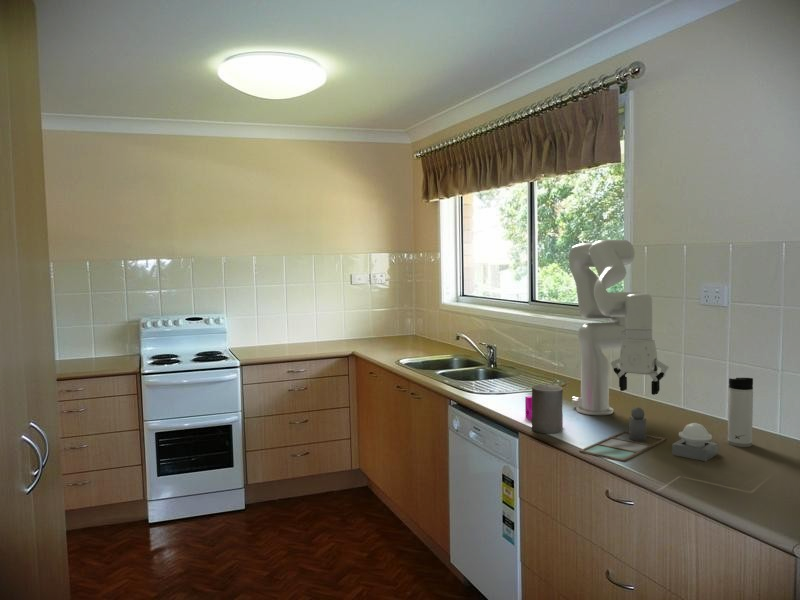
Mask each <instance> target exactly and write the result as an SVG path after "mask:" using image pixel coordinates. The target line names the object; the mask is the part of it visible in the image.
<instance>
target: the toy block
mask: <svg viewBox="0 0 800 600" xmlns="http://www.w3.org/2000/svg"><path fill="white" fill-rule="evenodd" d="M524 414H525V416H524V418H526V419H528V420H529V421H531V422H532V395H527V396H525V413H524ZM563 417H564V416H563V413H562V428H563V426H564V425H563V423H564V421H563Z"/></svg>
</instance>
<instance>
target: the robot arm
mask: <svg viewBox="0 0 800 600" xmlns="http://www.w3.org/2000/svg"><path fill="white" fill-rule="evenodd" d="M634 258H635V248H634V246H633V244H632V243H631V242H630V241H629V240H626V239H600V240H596V241H594V242H585V243H578V244H575V245H573V246H572V247H571V248H570V250H569V252H568V266H569V270H570V273H571V274H572V277H573V279H574V282H575V287H576V293H577V294H576V296H577V302H578V303H577V304H578V311H579V314H580V316H581V318H582V319H584V320H589V321H591V320H592V321H595V320H596V321H597V320H599V321H601V320H602V321H603V320H604V321H605V320H609V321H610V322H604V321H603V322H587V323H584V324H583V325H581V326H580V327H579V329H578V333H577V336H578V337H577V339H578V343H579V344H578V345H579V351H580V396H579V397H578V396H572V397H571V403H572V404H577V406H575V407H576V409H575V410H576V412H577V413H579V414H583V415H589V416H608V415H612V414H613V413H614V408H613V407H611V406H610V404H609V403H610V401H609V400H610V394H609V393H610V386H609V385H610V365H611V367H612V369H613V372H614V373H615V374H616V376H617V378H618V387H619V391H621V392H624V391H626V390H627V389H628V377H627V376H626V375H627V374H637V375H649V376H650V378H651V379H652V381H651V389H650V390H651V395H655V396H656V395H657V394H659V392H660V390H661V389H660V386H661V385H660V381H661V380H662V379H663V378H664V377H665V376H666V375H667V373H668V371H669V368H670V366H668V365H666V364H665V363H663V362H662V361H659V360H658V352H657V347H656V345H657V344H656V342H655V340H654V339H653V298H652V295H651V294H649V293H641V292H638V291H636V292H634V291H631V292H623V291H622V292H620V291H619V292H616V291H615V292H609V291H608V290H607V289H609V288H611V287H613V286H615V285H618V284H619V283H621V282H622V281H623V280H624V279H625V278H626V276H627V268H626V265H629V264H631V263H632V262H633V261H634ZM590 268H595V270H596V272H597V274H596V273H595V272H594V271H593V270H592V269H590ZM604 350H620V351H619V352H620V353H619V358H616V359H615V360H613V361H611V362H610V363H609V360H608V358H607V357H606V356H605V354H604V353H603V351H604ZM658 368H660V372H658Z"/></svg>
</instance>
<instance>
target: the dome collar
mask: <svg viewBox="0 0 800 600" xmlns="http://www.w3.org/2000/svg"><path fill="white" fill-rule="evenodd" d="M671 455H672V456H677V457H683V458H686V459H687V458H688V459H692V460H698V461H702V462H708V461H709V460H711V459H712V458H713V457H715V456H717V455H719V443H718V442H714V441H713V442H712V441H706V443H705V447H703V448H699V447H694V446H689V445H686V441H685V440H684V439H683V438H681V439H679V440H677V441H676V442H673V443H672V445H671Z"/></svg>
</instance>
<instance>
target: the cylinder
mask: <svg viewBox="0 0 800 600" xmlns="http://www.w3.org/2000/svg"><path fill="white" fill-rule="evenodd" d="M630 414H631V416H630V417H629V418H628V419H629V422H628V424H629V425H628V426H629V427H628V429H629V431H628V432H629V433H628V434H629V436H628V440H630V441H635V442H640V443H644V442H646V441H647V437H646V435H647V418H646V417H645V415H646V413H645V410H644V409H642V408H641V407H639V406H637V407H633V408H632V410H631V413H630Z"/></svg>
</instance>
